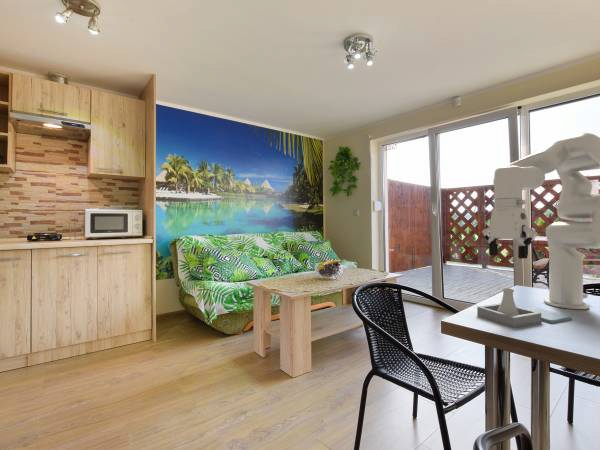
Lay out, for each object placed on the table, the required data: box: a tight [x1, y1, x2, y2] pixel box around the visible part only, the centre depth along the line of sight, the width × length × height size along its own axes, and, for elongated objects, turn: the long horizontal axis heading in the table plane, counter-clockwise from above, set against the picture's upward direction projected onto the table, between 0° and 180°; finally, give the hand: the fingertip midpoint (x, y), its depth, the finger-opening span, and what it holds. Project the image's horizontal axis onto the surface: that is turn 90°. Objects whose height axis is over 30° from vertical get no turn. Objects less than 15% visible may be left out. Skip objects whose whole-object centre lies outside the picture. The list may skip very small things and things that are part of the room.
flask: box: [497, 287, 519, 316], centre depth 98 cm, size 7×7×10 cm
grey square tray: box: [476, 302, 542, 328], centre depth 98 cm, size 12×12×3 cm
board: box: [529, 307, 573, 324], centre depth 99 cm, size 10×10×1 cm
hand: (507, 256), depth 97 cm, fingers open, 9 cm apart
